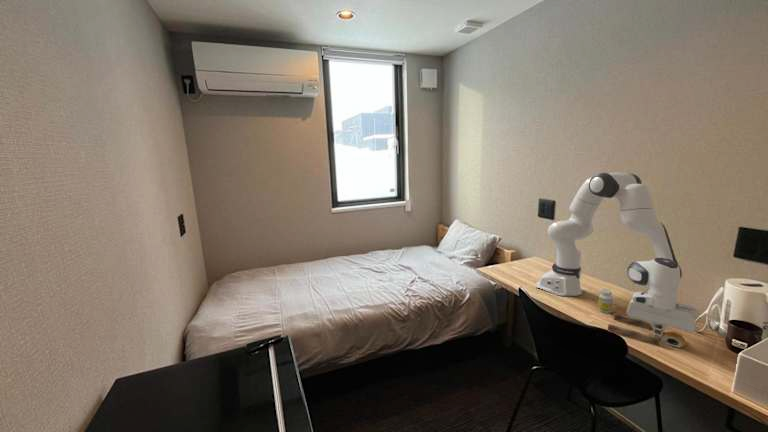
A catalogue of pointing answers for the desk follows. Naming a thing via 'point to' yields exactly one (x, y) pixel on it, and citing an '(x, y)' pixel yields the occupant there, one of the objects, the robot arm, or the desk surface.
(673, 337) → the pastry
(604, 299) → the supplement bottle
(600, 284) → the desk surface
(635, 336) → the chute
